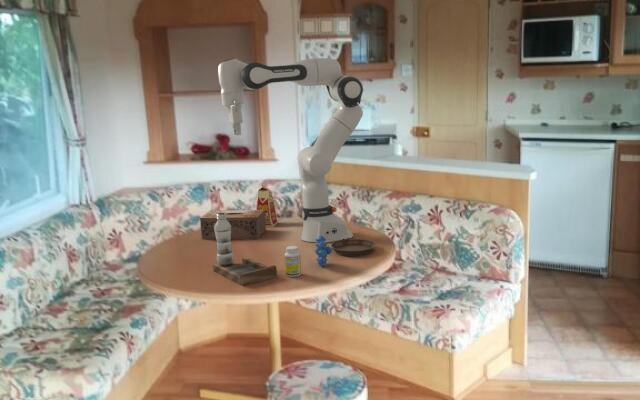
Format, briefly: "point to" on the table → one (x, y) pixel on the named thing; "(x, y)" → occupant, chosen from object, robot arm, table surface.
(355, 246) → the plant saucer
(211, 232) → the tissue box cover
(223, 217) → the silver ridged container
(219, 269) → the wooden tray
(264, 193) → the milk carton
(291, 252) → the supplement bottle
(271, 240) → the table surface
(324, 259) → the grapes
